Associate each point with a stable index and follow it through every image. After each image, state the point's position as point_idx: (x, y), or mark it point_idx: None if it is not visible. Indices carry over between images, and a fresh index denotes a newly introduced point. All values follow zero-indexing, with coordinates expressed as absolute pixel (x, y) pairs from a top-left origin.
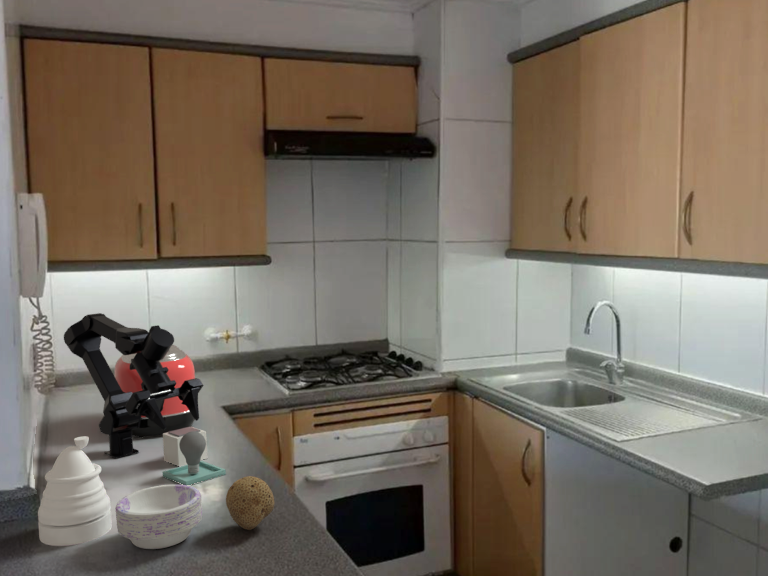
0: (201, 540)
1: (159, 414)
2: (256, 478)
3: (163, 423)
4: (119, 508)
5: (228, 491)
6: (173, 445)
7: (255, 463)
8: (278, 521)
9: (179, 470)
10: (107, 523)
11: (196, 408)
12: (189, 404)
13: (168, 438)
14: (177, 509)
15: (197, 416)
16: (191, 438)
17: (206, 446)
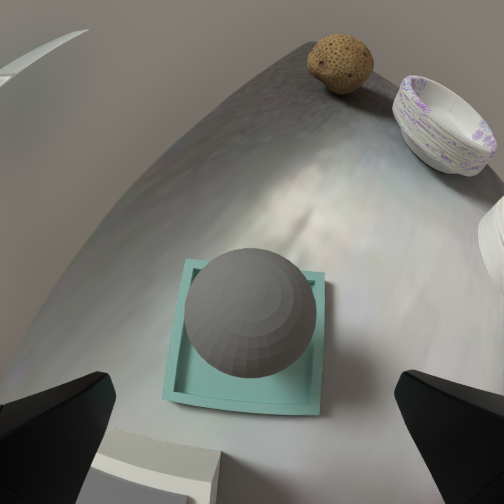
0: (393, 114)
1: (489, 400)
2: (337, 34)
3: (433, 376)
4: (492, 133)
5: (371, 58)
6: (212, 501)
7: (86, 265)
8: (297, 81)
9: (259, 402)
10: (488, 211)
11: (52, 399)
12: (46, 499)
13: None
14: (436, 82)
15: (99, 378)
16: (286, 263)
17: None
